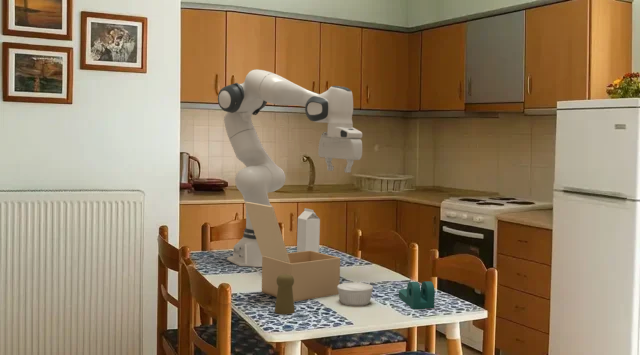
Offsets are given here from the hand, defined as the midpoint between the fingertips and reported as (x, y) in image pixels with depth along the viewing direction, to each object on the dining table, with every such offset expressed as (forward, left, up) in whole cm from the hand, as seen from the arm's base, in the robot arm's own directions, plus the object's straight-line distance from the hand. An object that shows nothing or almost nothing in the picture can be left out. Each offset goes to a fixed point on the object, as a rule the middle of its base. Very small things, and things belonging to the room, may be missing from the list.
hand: (338, 171), depth 252 cm
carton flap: (+8, -36, -18) cm, 40 cm away
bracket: (+37, +2, -40) cm, 54 cm away
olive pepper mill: (+24, -40, -39) cm, 61 cm away
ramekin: (+27, -15, -39) cm, 50 cm away
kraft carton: (+8, -22, -39) cm, 46 cm away
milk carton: (-50, +26, -39) cm, 69 cm away
